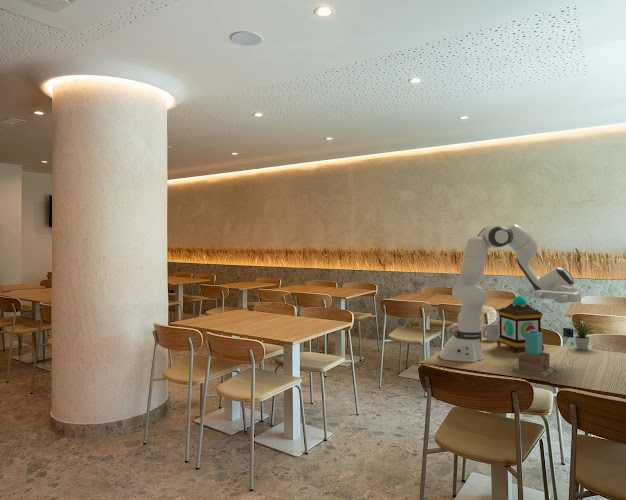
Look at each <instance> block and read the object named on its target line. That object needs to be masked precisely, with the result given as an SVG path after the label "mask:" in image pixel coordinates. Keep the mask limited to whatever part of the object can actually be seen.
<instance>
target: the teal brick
mask: <svg viewBox="0 0 626 500" xmlns="http://www.w3.org/2000/svg"><path fill="white" fill-rule="evenodd" d="M542 343H543V332H542V331H541V332H538V330H530V331H528V332H525V348H524V351H525V354H531V355H536V356H538V355H540V354H542V352H543V351H542Z"/></svg>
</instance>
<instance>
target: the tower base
mask: <svg viewBox="0 0 626 500" xmlns="http://www.w3.org/2000/svg"><path fill="white" fill-rule="evenodd" d="M517 354H518V365H515V366H514V367H512V368H511V369H512V372H516V373H520V374H525V373H526V375H530V374H532V375H531V376H534V375H537V376H536V377H539V376H541V377H540V378H545V377H547V376H549V375H550V374H552V372H553V373H555V372H556V370H557V368H555V367H550V353H549V352H544V351H542V354H540V355H538V356H536V355H531V354H525V350H524V351H522V352H519V353H517ZM548 374H549V375H548ZM546 375H547V376H546ZM544 376H545V377H544Z"/></svg>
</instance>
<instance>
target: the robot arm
mask: <svg viewBox="0 0 626 500" xmlns="http://www.w3.org/2000/svg"><path fill="white" fill-rule="evenodd" d="M506 245H508V246H509V247H510V248H511V249H512V250H513V251H514V252H515V254H516V258H515V260H516V263H517V265H518V267H519V268H520V269H521V271H522V273H523V274H524V276H525V277H526V279H528V281H529V283H530V284H531V286H532V288H533V290H534V291H533V297H534V298H535V299H545V300H553V301H554V302H556V303H559V304H566V303H579V302H580V303H581V289H580V288H579V286H578V285H577V284H576V283H574V282H575V281H574V278H573V276H572V274H571V273H570V271H568V270H567V269H565V268H563V267H560V266H556V267H554V268H553V269H551V270H549V271H547V272H546V273H545V274H543V275H540V276H538V275H537V274H536V272H535V271H534V269H533V267H531V265H530V263H531V261H532V260H533V258H535V256H536V254H537V252H538V248H539V246H538V243H537V241H536V240H535V238H534V236H532V235H530V233H529V232H527V230H525V229H524V228H523V227H521V226H520V225H518V224H515V223H514V224H510V225H508V226H506V227H505V226H501V225H500V226H495V225H493V226H487V227H484V228H482V230H480V232H479V233H478V234H477V236H472V237H469V238H468V240H467V242H466V245H465V249H464V252H463V258H462V262H461V269H460V272H459V276H458V278H457V280H456V283H455V285H453V287H452V290H451V295H452V296H453V298H454V299H455V300H456V301H458V302H459V303H461V307H460V312H459V313H458V315H457V326H458V327H457V329H452V331H451V332H452V334H453V335H454V336H453V337H452V338H451V339H449V340H448V341H447V342H445V343H444V346H443V349H442V350H443V351H440V352H439V353H438V354H439V355H438V356H439V357H440V359H442V360H445V361H452V362H453V361H454V362H470V363H472V362H473V363H475V362H478V361H481V360H484V359H485V358H484V357H485V356H484V353H483V349H482V339H483V336H482V330H481V317H482V316H481V315H482V310H483V307H484V304H485V303H486V302H487V300H488V294H487V291H486V290H485V289H484V288H483V287H482V286H480V285H478V283H479V281H480V279H481V277H483V275H484V272H485V266H486V265H485V264H486V258H487V253H488V250H489V249H490V248H502V247H504V246H506Z"/></svg>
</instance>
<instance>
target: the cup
mask: <svg viewBox="0 0 626 500" xmlns="http://www.w3.org/2000/svg"><path fill="white" fill-rule="evenodd" d="M485 332H486V334H485ZM481 334H482V338H484V339H486V340H487V341H488V342H495V343H497V340H498V338H499V336H500V325H498V324H487V325H486V326H485V327H483V328H482V329H481Z"/></svg>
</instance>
